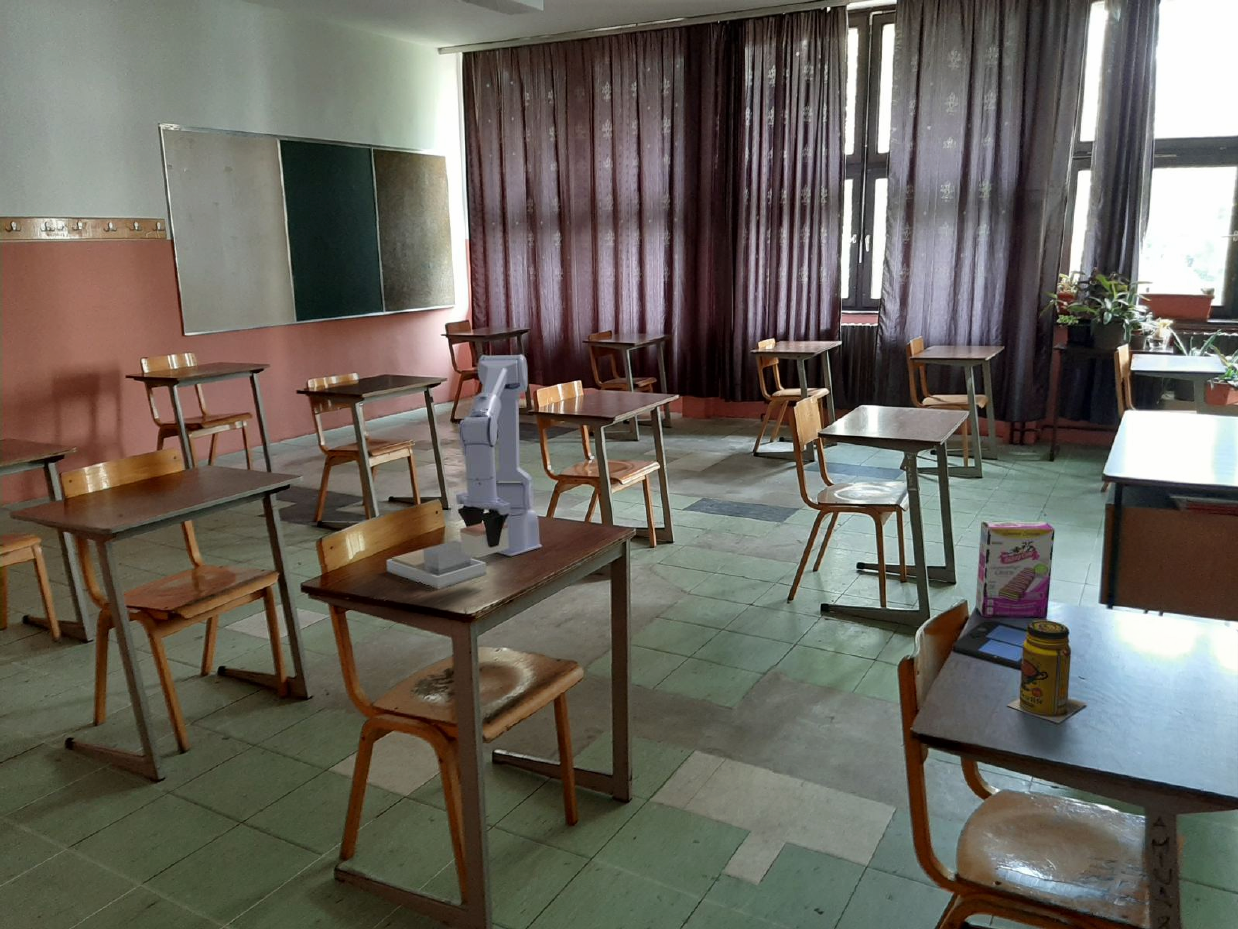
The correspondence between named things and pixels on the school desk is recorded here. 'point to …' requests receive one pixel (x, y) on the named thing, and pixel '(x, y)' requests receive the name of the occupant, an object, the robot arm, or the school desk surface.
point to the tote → (415, 570)
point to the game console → (994, 643)
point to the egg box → (481, 541)
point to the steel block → (445, 558)
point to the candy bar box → (1014, 568)
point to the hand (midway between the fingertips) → (485, 543)
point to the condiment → (1046, 672)
